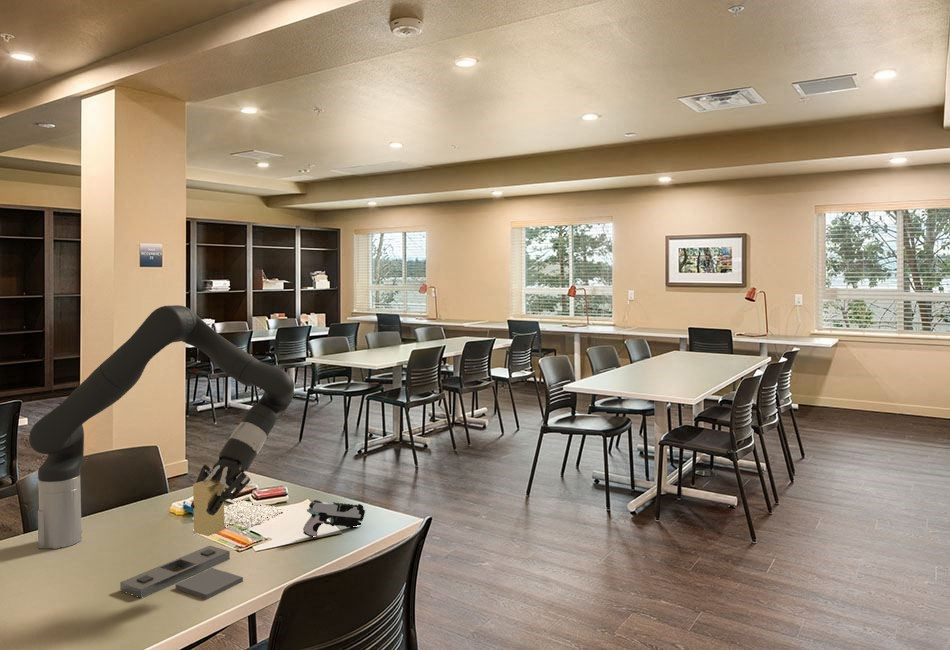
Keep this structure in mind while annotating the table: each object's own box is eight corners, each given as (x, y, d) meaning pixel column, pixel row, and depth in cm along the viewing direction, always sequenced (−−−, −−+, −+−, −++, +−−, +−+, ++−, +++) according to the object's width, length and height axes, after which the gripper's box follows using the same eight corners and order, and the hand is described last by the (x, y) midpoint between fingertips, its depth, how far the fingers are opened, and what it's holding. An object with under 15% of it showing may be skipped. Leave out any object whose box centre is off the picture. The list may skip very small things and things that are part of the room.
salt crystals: (291, 513, 202) (291, 507, 202) (243, 533, 184) (244, 527, 184) (240, 503, 211) (240, 497, 211) (189, 521, 193) (189, 516, 193)
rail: (141, 598, 146) (140, 588, 145) (120, 591, 149) (120, 580, 149) (229, 559, 167) (229, 549, 167) (209, 553, 170) (209, 544, 170)
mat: (206, 599, 146) (206, 594, 146) (175, 588, 150) (175, 584, 150) (242, 581, 155) (242, 577, 154) (212, 571, 159) (212, 567, 159)
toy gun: (357, 542, 189) (367, 506, 190) (303, 537, 179) (313, 500, 180) (354, 539, 191) (363, 504, 192) (299, 535, 180) (309, 497, 182)
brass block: (208, 536, 149) (207, 487, 148) (193, 532, 151) (193, 483, 150) (224, 529, 153) (223, 481, 152) (210, 526, 155) (209, 478, 154)
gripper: (213, 433, 160) (169, 497, 151) (257, 441, 154) (214, 508, 144) (230, 450, 165) (189, 514, 156) (274, 458, 159) (234, 525, 149)
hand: (201, 511), depth 150 cm, fingers closed on brass block, 4 cm apart
